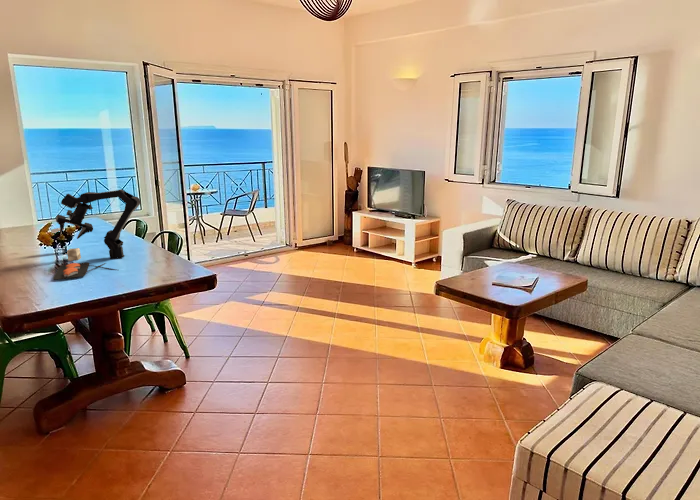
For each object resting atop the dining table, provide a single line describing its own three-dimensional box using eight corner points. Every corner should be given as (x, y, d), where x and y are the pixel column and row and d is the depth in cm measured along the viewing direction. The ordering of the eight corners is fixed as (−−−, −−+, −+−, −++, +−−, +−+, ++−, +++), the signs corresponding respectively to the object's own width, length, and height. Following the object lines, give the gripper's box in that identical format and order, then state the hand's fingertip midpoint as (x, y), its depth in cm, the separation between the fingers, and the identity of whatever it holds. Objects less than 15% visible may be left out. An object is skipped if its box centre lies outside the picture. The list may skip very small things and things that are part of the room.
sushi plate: (60, 268, 262) (59, 261, 261) (121, 261, 273) (120, 255, 273) (52, 283, 236) (51, 276, 235) (119, 275, 248) (118, 268, 247)
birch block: (81, 258, 281) (79, 248, 279) (77, 260, 276) (76, 250, 275) (71, 258, 280) (70, 248, 279) (68, 260, 275) (66, 250, 274)
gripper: (94, 212, 283) (84, 234, 286) (60, 201, 271) (49, 225, 273) (97, 220, 275) (86, 243, 278) (62, 209, 263) (51, 233, 265)
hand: (68, 236), depth 274 cm, fingers open, 9 cm apart
